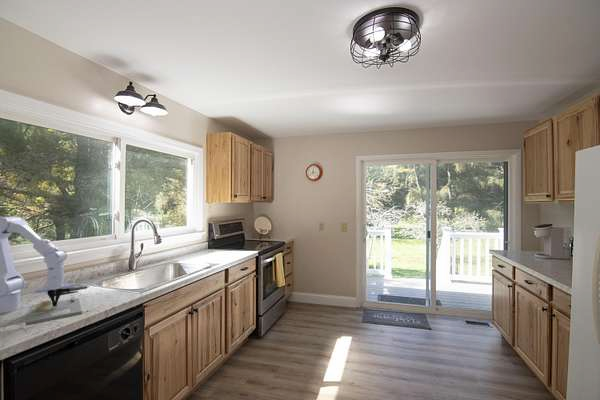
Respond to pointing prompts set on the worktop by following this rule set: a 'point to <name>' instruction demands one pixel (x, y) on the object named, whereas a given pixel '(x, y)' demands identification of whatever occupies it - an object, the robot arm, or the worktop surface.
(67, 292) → the door handle
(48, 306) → the birch block
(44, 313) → the slate board
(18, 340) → the worktop surface
